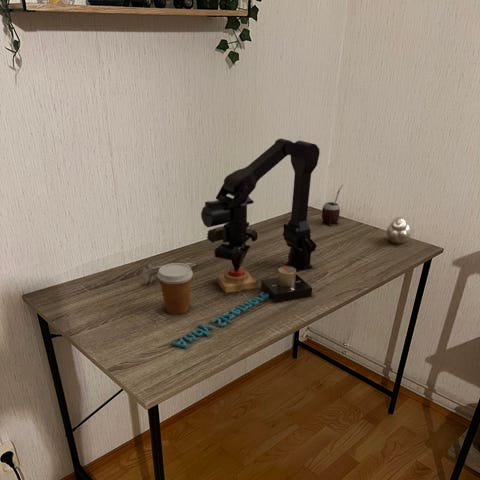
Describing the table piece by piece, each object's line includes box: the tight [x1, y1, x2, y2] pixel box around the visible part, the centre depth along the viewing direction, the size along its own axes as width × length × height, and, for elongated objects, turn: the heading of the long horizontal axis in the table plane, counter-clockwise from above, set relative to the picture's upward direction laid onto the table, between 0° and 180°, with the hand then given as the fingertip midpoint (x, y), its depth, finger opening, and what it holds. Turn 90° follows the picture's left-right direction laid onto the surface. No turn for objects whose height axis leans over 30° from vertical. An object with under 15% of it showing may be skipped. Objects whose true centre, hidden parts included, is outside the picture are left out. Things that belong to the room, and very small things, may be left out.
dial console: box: [260, 273, 313, 304], centre depth 147 cm, size 12×10×3 cm
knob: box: [277, 265, 297, 288], centre depth 145 cm, size 5×5×5 cm
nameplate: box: [170, 291, 269, 349], centre depth 133 cm, size 37×1×5 cm
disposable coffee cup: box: [156, 262, 194, 315], centre depth 135 cm, size 10×10×12 cm
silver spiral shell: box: [386, 216, 413, 244], centre depth 181 cm, size 9×10×10 cm
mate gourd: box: [321, 183, 344, 227], centre depth 198 cm, size 8×8×15 cm
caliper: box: [142, 262, 197, 285], centre depth 156 cm, size 20×1×6 cm, turn 136°
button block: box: [216, 269, 257, 294], centre depth 151 cm, size 10×8×4 cm
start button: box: [228, 266, 245, 277], centre depth 149 cm, size 4×4×2 cm
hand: (236, 269), depth 149 cm, fingers closed, pressing on start button
